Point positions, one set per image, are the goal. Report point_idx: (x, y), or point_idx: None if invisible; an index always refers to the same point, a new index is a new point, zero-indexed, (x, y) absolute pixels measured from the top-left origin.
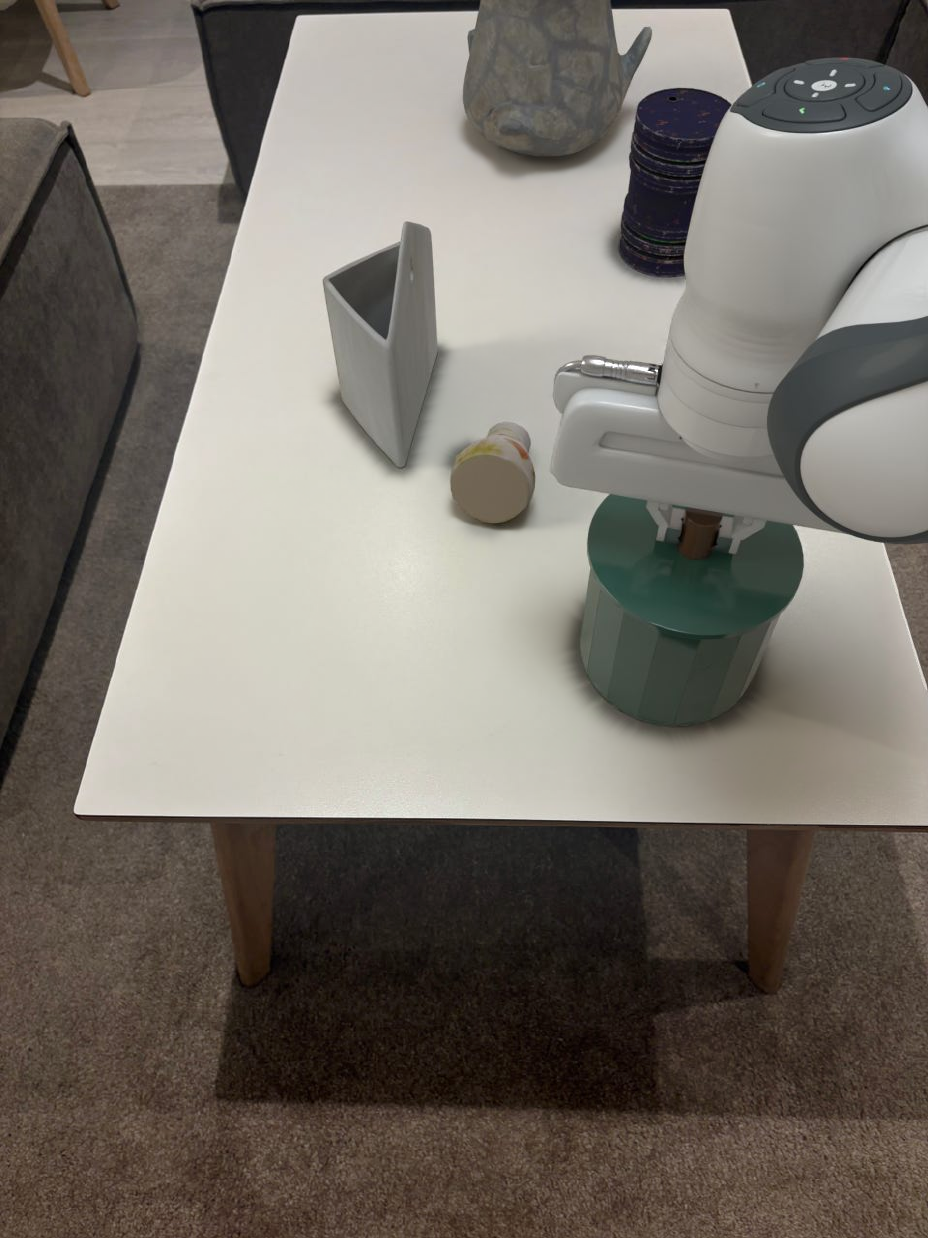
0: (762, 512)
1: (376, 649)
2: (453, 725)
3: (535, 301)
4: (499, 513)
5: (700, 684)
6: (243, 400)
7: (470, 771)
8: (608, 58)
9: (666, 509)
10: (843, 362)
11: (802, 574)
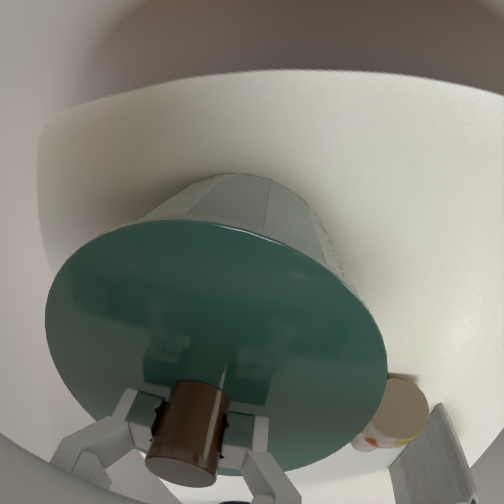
0: (40, 486)
1: (495, 251)
2: (450, 171)
3: (320, 493)
4: (388, 387)
5: (194, 193)
6: (499, 416)
7: (436, 120)
8: None
9: (257, 497)
10: None
11: (47, 341)
